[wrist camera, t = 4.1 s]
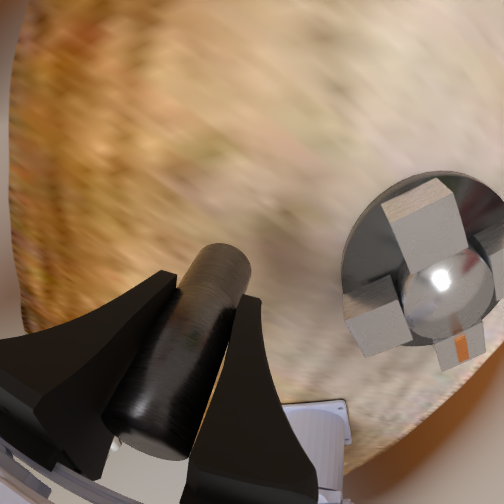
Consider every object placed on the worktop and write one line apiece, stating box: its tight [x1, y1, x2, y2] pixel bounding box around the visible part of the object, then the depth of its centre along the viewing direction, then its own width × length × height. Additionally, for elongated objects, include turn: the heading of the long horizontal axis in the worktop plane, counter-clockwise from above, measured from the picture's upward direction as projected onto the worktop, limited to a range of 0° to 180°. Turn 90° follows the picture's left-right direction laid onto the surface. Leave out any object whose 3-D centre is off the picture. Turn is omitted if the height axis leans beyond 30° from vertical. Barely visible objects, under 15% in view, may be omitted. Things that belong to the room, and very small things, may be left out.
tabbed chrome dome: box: [343, 178, 504, 372], centre depth 17 cm, size 13×13×3 cm
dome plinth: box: [341, 171, 504, 346], centre depth 18 cm, size 13×13×1 cm
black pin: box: [101, 243, 251, 461], centre depth 10 cm, size 2×2×8 cm
